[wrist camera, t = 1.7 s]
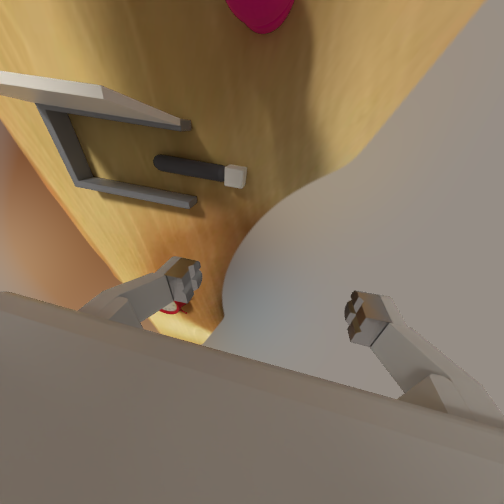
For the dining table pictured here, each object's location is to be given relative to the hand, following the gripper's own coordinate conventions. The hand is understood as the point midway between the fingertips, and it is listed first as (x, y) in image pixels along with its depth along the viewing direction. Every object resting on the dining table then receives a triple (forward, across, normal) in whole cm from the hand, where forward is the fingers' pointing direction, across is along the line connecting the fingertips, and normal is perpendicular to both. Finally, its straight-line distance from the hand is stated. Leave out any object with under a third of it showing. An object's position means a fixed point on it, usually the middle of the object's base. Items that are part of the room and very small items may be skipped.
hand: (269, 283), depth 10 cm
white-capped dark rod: (+22, +15, -1) cm, 27 cm away
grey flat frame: (+21, +27, -2) cm, 35 cm away
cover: (+12, +26, -9) cm, 30 cm away
